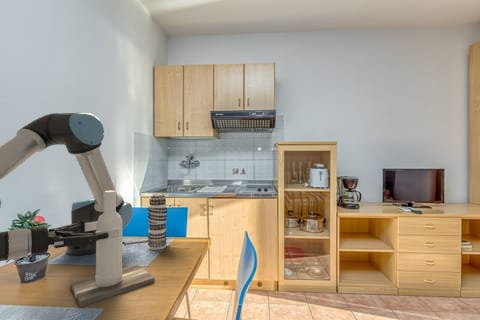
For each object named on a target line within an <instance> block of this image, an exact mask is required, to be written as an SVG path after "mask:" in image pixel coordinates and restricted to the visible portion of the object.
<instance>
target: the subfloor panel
mask: <svg viewBox="0 0 480 320" xmlns="http://www.w3.org/2000/svg"><path fill="white" fill-rule="evenodd" d="M152 283H155V276H153V275H152V274H151V273H149V272H148V271H147V270H146V269H145V268H144V267H143V266H141V265H140V264H138V263H136V264H132V265H129V266H126V267H122V280H121V282H119V283H118V284H116V285H113V286H109V287H100V286H97V285H96V275H93V276H89V277H85V278H82V279H78V280H75V281H70V286H69V287H70V289H71V291H72V293H73V295H74V296H75V299H76V300H77V303H78V305H79V307H80V308H81V307H84V306H87V305H89V304H93V303H96V302H99V301H102V300H104V299H108V298H111V297H114V296H117V295H119V294H123V293H126V292H129V291H131V290H134V289H138V288H140V287H143V286H147V285H149V284H150V285H151V284H152Z"/></svg>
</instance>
